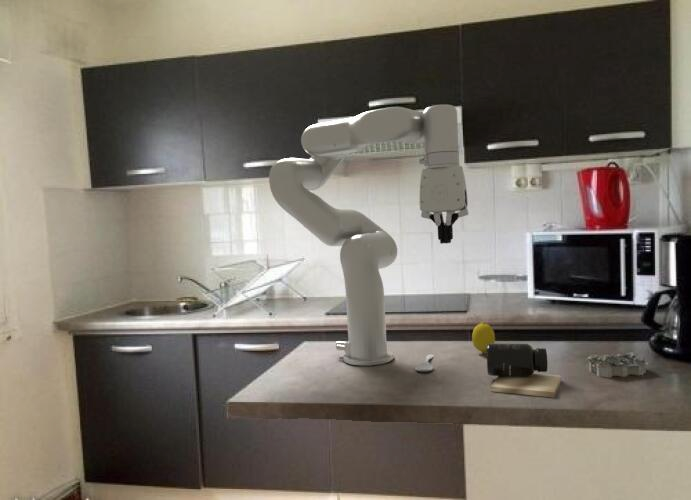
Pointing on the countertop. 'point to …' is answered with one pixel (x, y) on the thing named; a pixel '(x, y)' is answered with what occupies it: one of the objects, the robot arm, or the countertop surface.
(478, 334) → the lemon
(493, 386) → the cutting board
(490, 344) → the supplement bottle
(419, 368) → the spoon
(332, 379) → the countertop surface
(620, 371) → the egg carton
